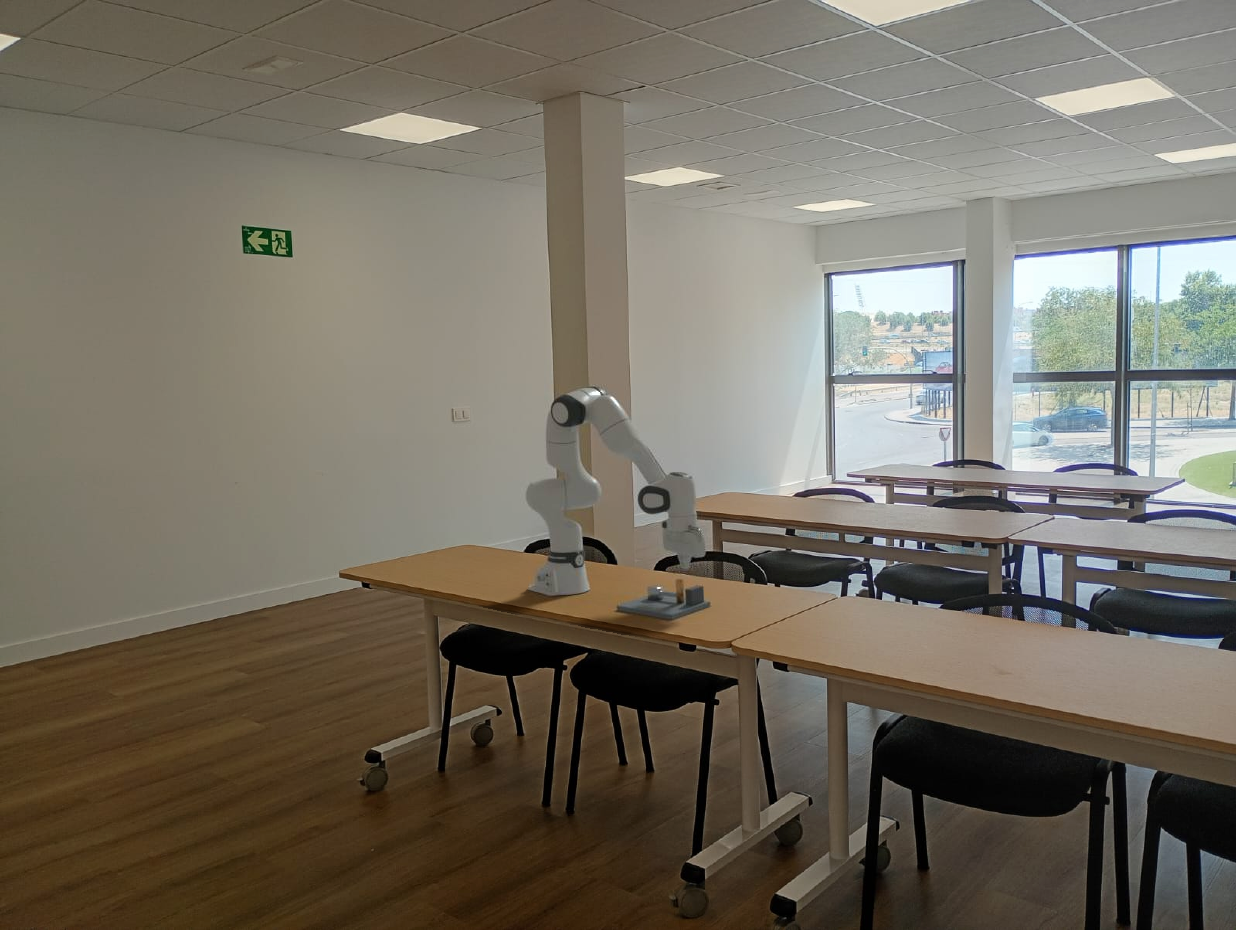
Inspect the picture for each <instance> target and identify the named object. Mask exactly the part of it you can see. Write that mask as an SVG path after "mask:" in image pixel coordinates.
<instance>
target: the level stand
mask: <svg viewBox="0 0 1236 930" xmlns="http://www.w3.org/2000/svg"><path fill="white" fill-rule="evenodd" d="M704 594H705V593H704V586H703V585H698V584H697V585H694V586H691V587H687V588H685V589H684V595H685V597H684V603H677V599H676V597H670V596H664V595H663V596H664V598H663V599H661V600H649V599H648V595H646V596H645V595H644V596H642V597H639V598H636V599H634V600H633V599H632V600H629V601H627V602H623V603H621V604H620V603H619V604H617V605H616V611H620V612H625V613H632V614H637V615H642V616H648V617H653V618H658V619H663V620H664V619H665V620H669V621H670V620H671V621H673V620H676V619H678V618H682V617H684V616H687V615H690V614H692V613H696V612H699V611H701V610H705V609H707V608H710V607H711V601H709V600H705V595H704Z"/></svg>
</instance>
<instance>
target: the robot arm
mask: <svg viewBox="0 0 1236 930" xmlns="http://www.w3.org/2000/svg"><path fill="white" fill-rule="evenodd" d="M587 423H589V424H592V426H593V427H594V428H595V430H596V431H597V433H598V436H599V437H600V439H601V440H602V443H603V444H604V446H605V447H606V448H607V449H608V450H609V451H610V452H611V453H612V454H613V455H616V456H619V457H623V458H625V459H627V460H628V461H631V463H633V464H634V465H635V466H636V468H637V469H638V471H639V472H640V474H641V475H642V477H643V478H644V479H645V481H646V482H647V485H645V486H644V487H641V489H640V490H639V492H638V494H637V503H638V506H639V508H640V509H641V511H642V512H644V513H645V514H647V515H658V514H661V513H667V516H668V518H666V519H665V520H662V521H661V523H660V524H661V526H660V527H661V528H662V532H661V533H662V544H663V548H664V550H665V551H667V552H671V553H674V554H675V553H676V554H677V555H676V556H677V559H678V561H679V566H680V568H682V569H684V570H687V569H690V568H691V566H690V563H691V560H692V558H695V559H696V558H703V557H705V555H706V552H707V551H706V544H705V536H704V533H702V530H700V527H698V515H697V510H696V502H697V494H696V486H695V481H694V478H693V477H692V475H690V474H689V473H686V472H681V471H674V472H669V473H668V474H666V473H665V471H664V470H663V468H662V467H661V466H660V464H659V462H658V461H657V459H656V458H655V456H654V455H653V453H652V452H651V450H650V449H649V448H648V446H647V445H646V444H645V442H644V440H643V439H642V437H641V436H640V434H639V433H638V430H637V429H636V428H635V425H634V423H633V422H632V419H630V417H629V415H628V413H627V412H626V410H625V408H624V407H623V406H622V405H621V404H620V403H619V401H618V400H617V399H616V398H615V397H614V396H613V395H609V394H608V393H607V391H605V390H604V389H603V388H602V387H599V386H588V387H585V388H578V389H575V390H573V391H571V392H568V393H566V394H561V395H559V396H557V398H555V399H554V400H553V401H552V403H551V405H550V410H549V411H548V413H547V418H546V423H545V424H546V426H545V448H546V449H545V451H546V452H545V454H546V455H545V456H546V457H545V458H546V463H547V464H548V465H549V466H551V467H552V468H553V469H556V470H558V471H561V472H563V473H564V474H565V475H564V477H555V478H553V477H552V478H542V479H539V480H535V481H531V482H530V483H529V485H528V486H527V487H526V491H525V500H526V502H527V505H528V507H529V508H530V509H532V510H533V511H534V512H536V513H537V514H539V516H540V517H541V518H542V519H543V520H544V522H545V525H546V527H547V530H548V535H549V543H550V550H549V551H546V552H545V555H544V556H545V557H546V556H547V561H546V562H545V563H544V564H542V566H541V567H539V568H538V569H537V570H536V571H535V573H534V582H533V583H532V584H530V585H529V586H528V587H527V590H528V591H531V592H536V593H539V594H541V595H545V596H549V597H553V596H565V595H566V596H568V595H577V594H581V593H582V594H583V593H586V592H587V591H590V589H591V587H590V582H589V581H588V575H587V569H586V564H585V559H586V556H585V555H586V553H585V549H584V547H583V545H584V544H583V528H582V526H581V525H580V524H579V523H578V522H577V521H575V520H572V519H570V518H567V517H566V516H565V515H564V512H563V511H567V510H568V511H569V510H579V509H587V508H590V507H591V508H592V507H594V506H597V505H598V504H599V501H600V500H601V497H602V487H601V484H600V482H599V481H598V480H597V479H596V478H595V477H593V476H592V475H590V474H589V472H587V471H586V469H585V467H584V466H583V464H582V460H581V453H580V437H579V435H580V433H579V430H580V429H579V427H580V426H581V425H585V424H587Z"/></svg>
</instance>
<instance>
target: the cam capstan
mask: <svg viewBox="0 0 1236 930" xmlns="http://www.w3.org/2000/svg"><path fill="white" fill-rule="evenodd" d="M684 584H685V583H684V579H682V578H678V579H675V590H676V591H670V590H664V586H662V585H649V586H647V589H646V590H647V596H648V599H649V600H661V599H663V598H664V596H670V597H676V599H677V603H684V598H685V589H684ZM663 595H664V596H663Z"/></svg>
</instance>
